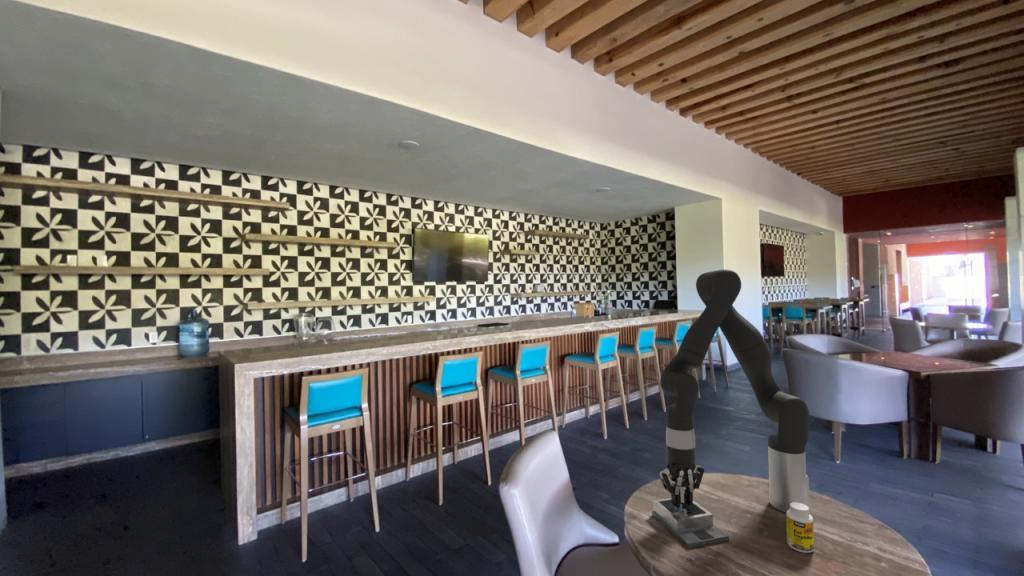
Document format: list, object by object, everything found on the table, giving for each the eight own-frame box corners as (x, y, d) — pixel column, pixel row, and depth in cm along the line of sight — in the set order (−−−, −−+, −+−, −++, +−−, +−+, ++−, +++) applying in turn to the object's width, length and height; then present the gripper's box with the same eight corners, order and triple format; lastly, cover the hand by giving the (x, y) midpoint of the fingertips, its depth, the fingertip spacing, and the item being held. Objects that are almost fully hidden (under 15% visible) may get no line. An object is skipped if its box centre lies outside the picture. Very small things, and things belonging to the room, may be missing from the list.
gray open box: (687, 509, 121) (687, 494, 121) (728, 540, 105) (728, 524, 105) (651, 515, 118) (651, 500, 118) (688, 548, 102) (688, 531, 103)
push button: (695, 518, 111) (694, 480, 111) (675, 517, 111) (674, 480, 111) (687, 505, 117) (686, 470, 117) (668, 504, 118) (667, 470, 118)
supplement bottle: (791, 552, 100) (790, 510, 101) (783, 538, 106) (782, 499, 106) (818, 555, 99) (816, 513, 99) (809, 542, 104) (808, 502, 104)
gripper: (693, 435, 120) (694, 495, 120) (650, 441, 116) (652, 502, 116) (711, 445, 112) (713, 508, 112) (666, 451, 109) (668, 516, 109)
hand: (682, 504), depth 114 cm, fingers closed on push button, 3 cm apart
